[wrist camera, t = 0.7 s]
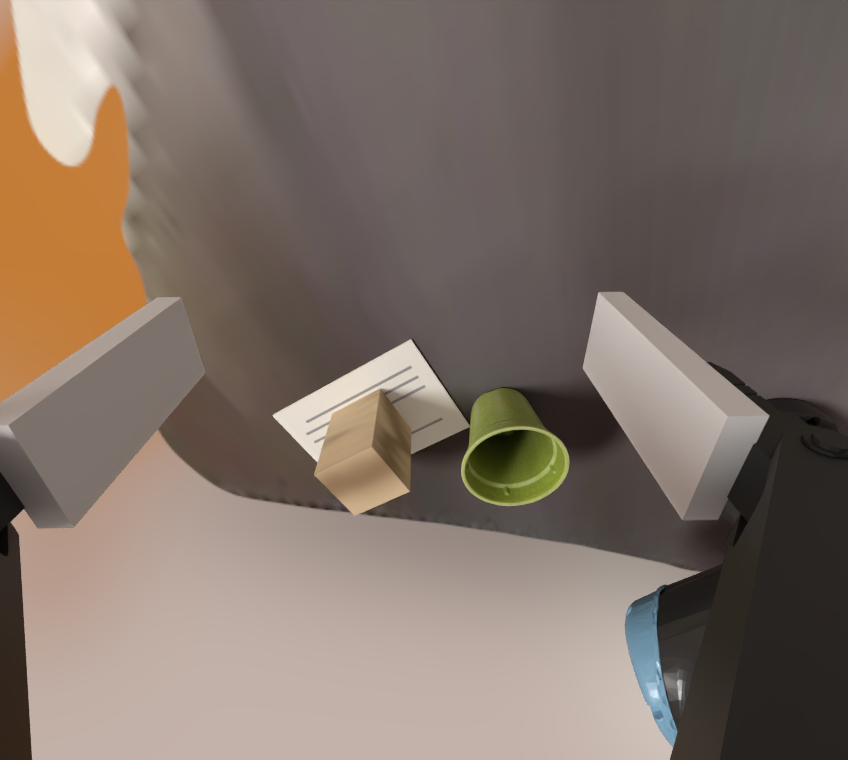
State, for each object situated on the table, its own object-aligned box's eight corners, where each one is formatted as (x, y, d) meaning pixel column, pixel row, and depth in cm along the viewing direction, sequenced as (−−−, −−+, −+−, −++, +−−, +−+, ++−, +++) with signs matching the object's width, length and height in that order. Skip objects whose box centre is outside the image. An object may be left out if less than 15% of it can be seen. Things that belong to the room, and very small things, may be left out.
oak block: (411, 428, 46) (409, 491, 38) (365, 451, 47) (354, 515, 40) (380, 388, 43) (371, 446, 35) (332, 413, 45) (314, 474, 37)
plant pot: (520, 455, 48) (539, 516, 41) (442, 433, 47) (446, 493, 39) (560, 388, 44) (589, 443, 36) (475, 362, 42) (487, 414, 35)
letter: (469, 425, 46) (470, 426, 46) (341, 485, 50) (341, 487, 50) (411, 339, 41) (411, 339, 40) (272, 414, 45) (272, 415, 45)
